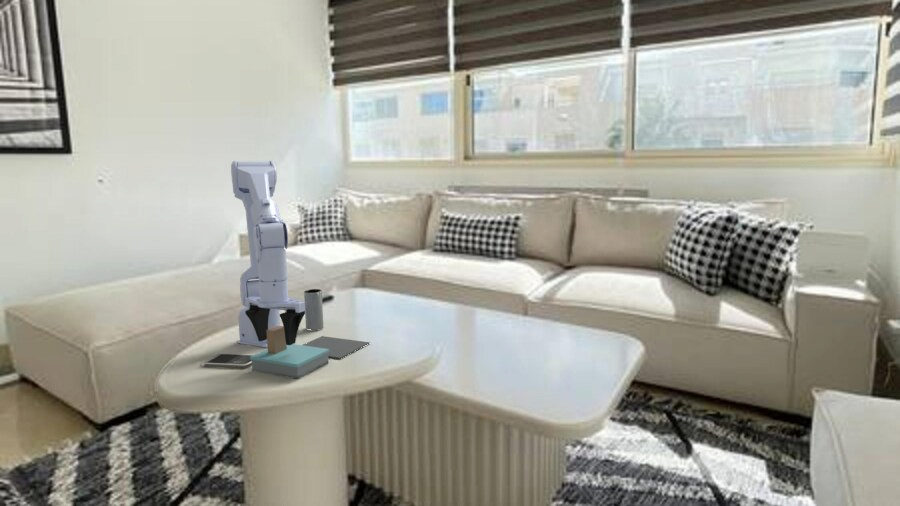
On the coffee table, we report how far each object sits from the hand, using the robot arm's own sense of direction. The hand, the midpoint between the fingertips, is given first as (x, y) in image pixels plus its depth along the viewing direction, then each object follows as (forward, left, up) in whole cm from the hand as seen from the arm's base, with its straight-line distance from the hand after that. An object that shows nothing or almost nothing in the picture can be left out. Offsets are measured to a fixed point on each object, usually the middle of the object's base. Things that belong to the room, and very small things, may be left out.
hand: (276, 342), depth 117 cm
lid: (+3, 0, -3) cm, 4 cm away
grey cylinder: (-11, +26, -5) cm, 29 cm away
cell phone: (-11, -3, -6) cm, 12 cm away
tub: (+3, 0, -5) cm, 6 cm away
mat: (+3, +14, -5) cm, 15 cm away
